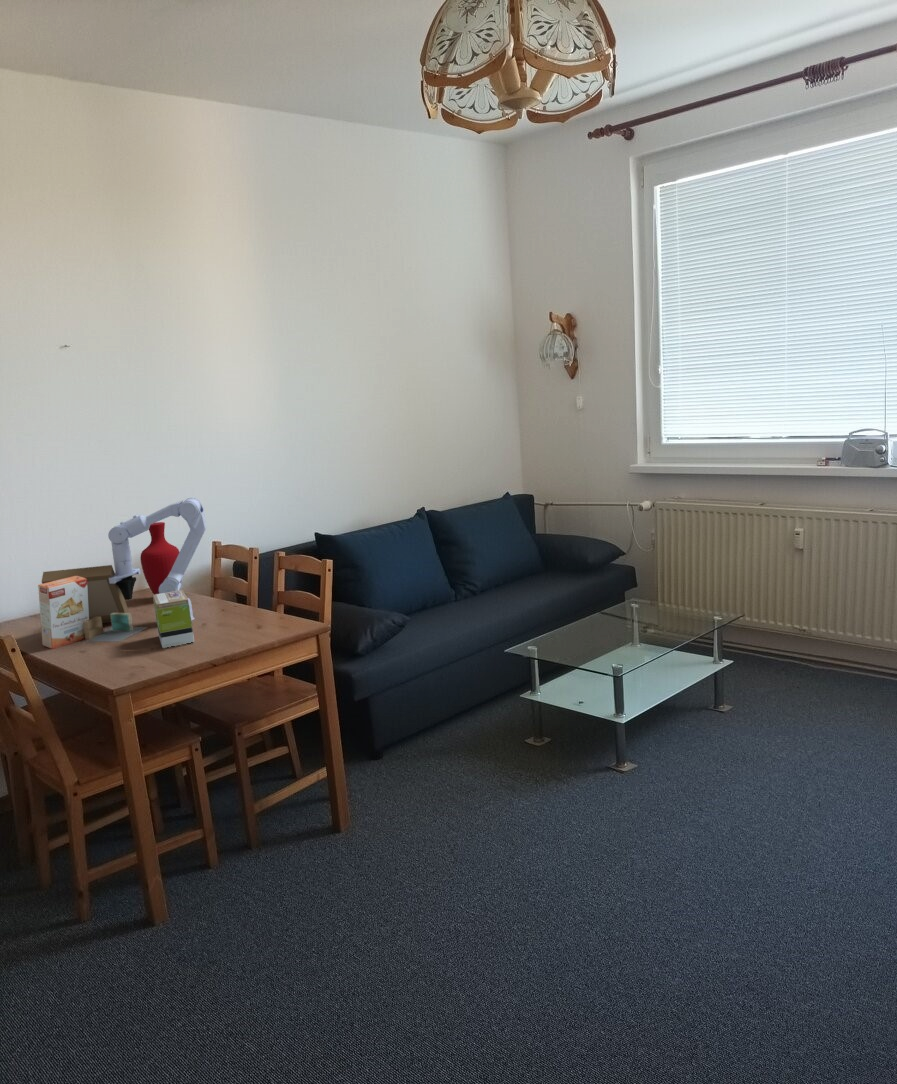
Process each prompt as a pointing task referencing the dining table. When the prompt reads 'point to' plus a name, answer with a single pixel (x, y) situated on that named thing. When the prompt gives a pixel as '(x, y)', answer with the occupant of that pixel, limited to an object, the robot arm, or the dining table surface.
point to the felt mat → (116, 635)
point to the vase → (158, 557)
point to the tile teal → (121, 621)
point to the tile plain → (93, 627)
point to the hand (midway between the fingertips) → (128, 599)
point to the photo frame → (95, 590)
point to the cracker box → (63, 611)
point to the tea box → (173, 618)
